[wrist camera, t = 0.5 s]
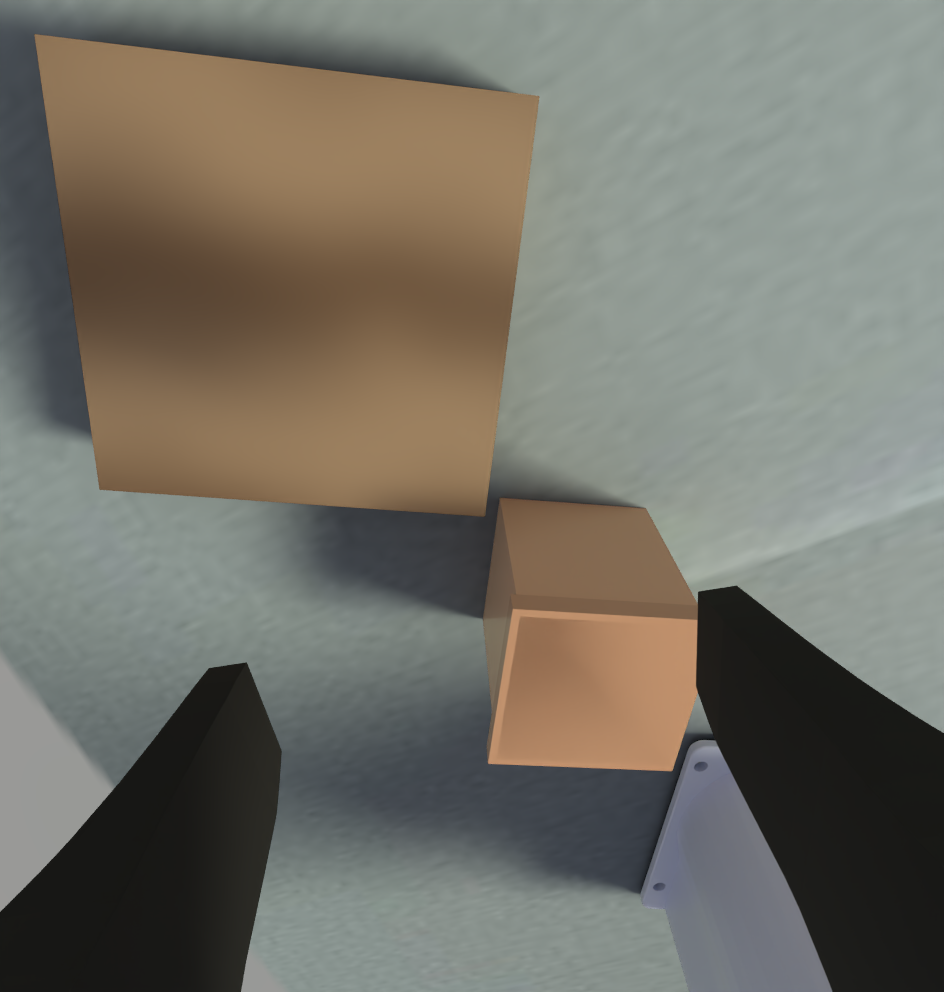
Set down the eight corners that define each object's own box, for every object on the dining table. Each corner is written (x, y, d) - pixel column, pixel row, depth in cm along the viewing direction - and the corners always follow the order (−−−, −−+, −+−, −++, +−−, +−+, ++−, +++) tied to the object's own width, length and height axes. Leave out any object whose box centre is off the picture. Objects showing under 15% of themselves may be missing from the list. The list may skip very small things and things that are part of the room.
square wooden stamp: (621, 631, 25) (672, 771, 20) (476, 623, 24) (487, 763, 19) (653, 503, 23) (720, 621, 17) (493, 491, 22) (512, 608, 17)
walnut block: (479, 476, 22) (484, 517, 20) (135, 450, 21) (99, 489, 19) (525, 98, 17) (539, 96, 15) (88, 45, 16) (34, 34, 14)
